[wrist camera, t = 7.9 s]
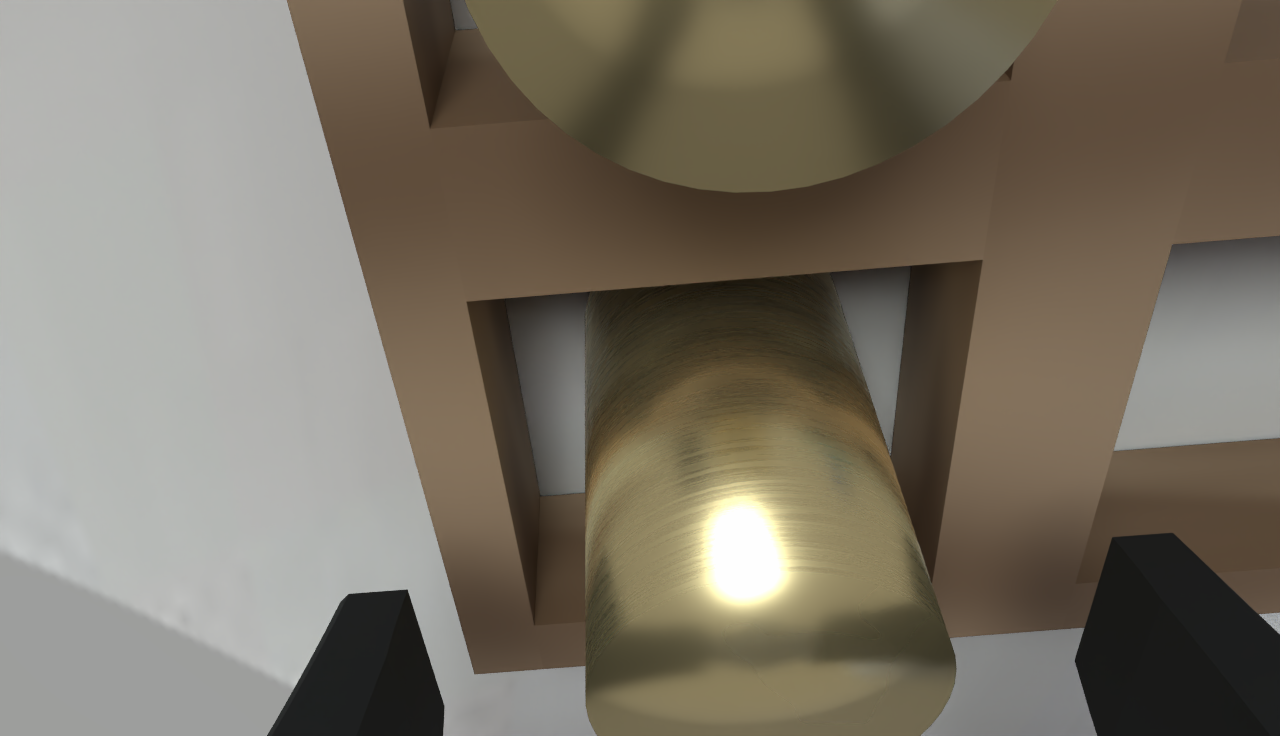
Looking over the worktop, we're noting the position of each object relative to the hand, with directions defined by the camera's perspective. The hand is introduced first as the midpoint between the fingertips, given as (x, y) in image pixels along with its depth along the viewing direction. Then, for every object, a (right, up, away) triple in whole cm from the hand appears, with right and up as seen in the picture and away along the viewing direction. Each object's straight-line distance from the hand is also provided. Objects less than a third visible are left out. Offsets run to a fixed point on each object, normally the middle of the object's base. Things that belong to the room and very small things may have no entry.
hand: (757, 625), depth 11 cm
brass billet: (0, +3, +4) cm, 5 cm away
